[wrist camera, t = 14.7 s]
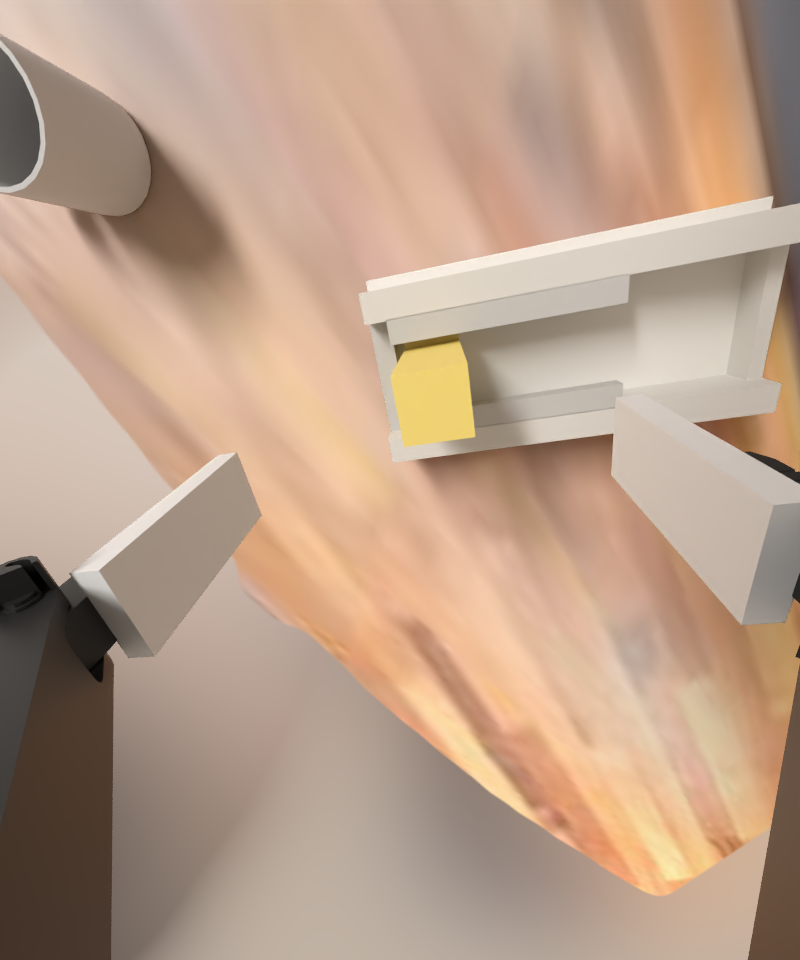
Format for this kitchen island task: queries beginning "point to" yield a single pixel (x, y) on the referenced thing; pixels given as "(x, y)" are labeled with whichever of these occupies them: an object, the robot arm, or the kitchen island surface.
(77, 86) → the cup
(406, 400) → the yellow juice carton
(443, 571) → the kitchen island surface
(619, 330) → the rail
